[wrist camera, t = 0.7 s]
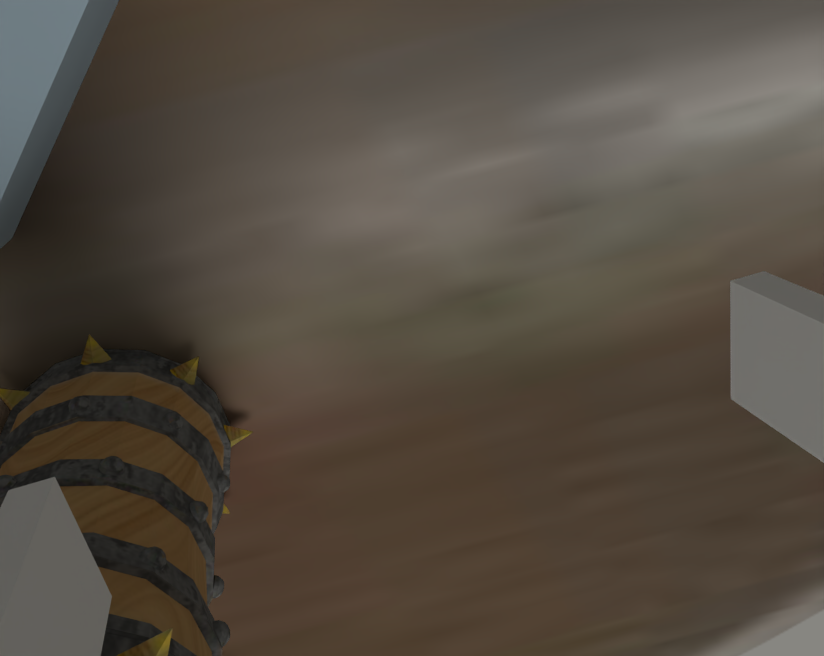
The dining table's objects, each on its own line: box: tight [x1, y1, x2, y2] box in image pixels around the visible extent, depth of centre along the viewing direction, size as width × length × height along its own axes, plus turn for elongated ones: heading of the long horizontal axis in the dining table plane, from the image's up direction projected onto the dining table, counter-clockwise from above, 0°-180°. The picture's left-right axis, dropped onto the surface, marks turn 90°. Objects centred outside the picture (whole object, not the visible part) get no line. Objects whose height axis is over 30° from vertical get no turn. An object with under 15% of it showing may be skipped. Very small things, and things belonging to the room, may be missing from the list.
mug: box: [0, 335, 253, 656], centre depth 26 cm, size 13×17×20 cm
